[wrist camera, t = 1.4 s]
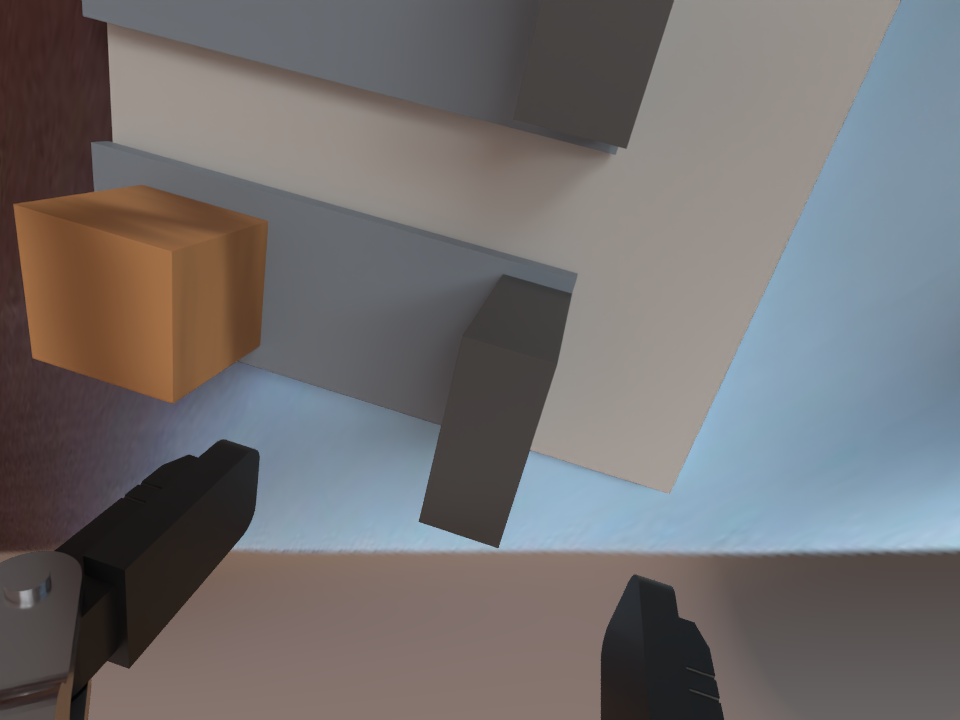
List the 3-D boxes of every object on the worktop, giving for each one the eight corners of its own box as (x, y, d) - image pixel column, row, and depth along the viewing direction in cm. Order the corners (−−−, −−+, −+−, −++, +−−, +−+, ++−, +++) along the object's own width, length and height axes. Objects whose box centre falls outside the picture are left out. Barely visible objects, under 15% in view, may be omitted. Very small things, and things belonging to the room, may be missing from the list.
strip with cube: (577, 273, 20) (563, 346, 14) (525, 440, 23) (494, 560, 17) (108, 141, 21) (-94, 152, 15) (117, 312, 24) (-48, 379, 18)
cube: (268, 220, 20) (171, 251, 16) (260, 345, 23) (173, 403, 18) (142, 184, 21) (13, 204, 16) (145, 310, 23) (32, 358, 18)
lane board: (925, -83, 15) (945, -95, 14) (667, 479, 23) (669, 493, 23) (119, -253, 18) (93, -273, 17) (138, 314, 26) (121, 321, 25)
